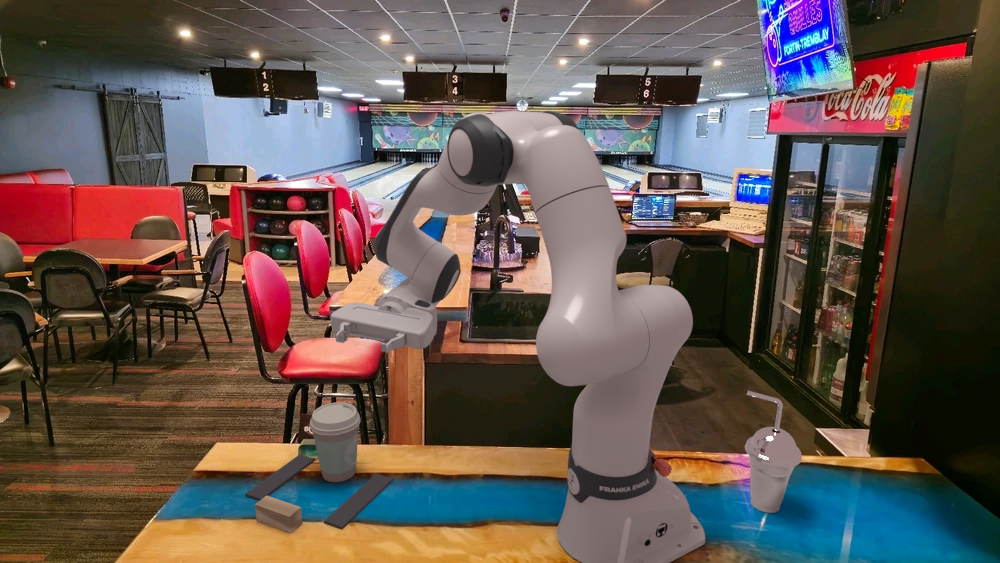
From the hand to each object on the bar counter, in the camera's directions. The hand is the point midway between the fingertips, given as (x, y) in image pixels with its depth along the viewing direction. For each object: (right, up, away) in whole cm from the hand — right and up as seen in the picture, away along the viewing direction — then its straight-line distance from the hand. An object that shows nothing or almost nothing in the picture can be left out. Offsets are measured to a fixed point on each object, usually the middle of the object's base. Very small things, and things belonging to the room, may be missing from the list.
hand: (361, 343), depth 112 cm
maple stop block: (-10, -27, -15) cm, 32 cm away
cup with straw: (+69, -26, -9) cm, 74 cm away
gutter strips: (-5, -24, -6) cm, 25 cm away
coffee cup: (-3, -23, -2) cm, 23 cm away
